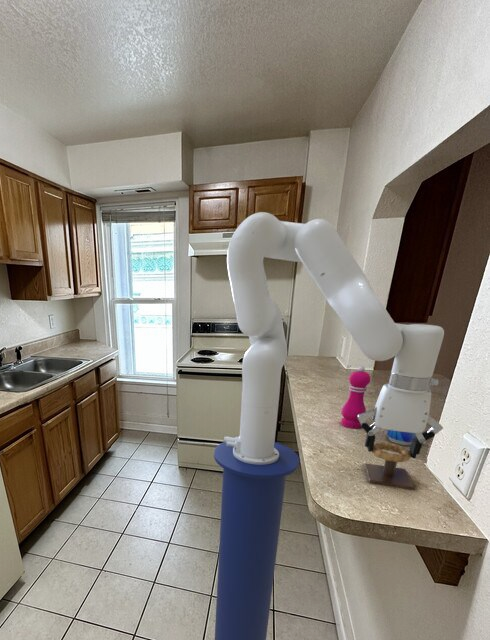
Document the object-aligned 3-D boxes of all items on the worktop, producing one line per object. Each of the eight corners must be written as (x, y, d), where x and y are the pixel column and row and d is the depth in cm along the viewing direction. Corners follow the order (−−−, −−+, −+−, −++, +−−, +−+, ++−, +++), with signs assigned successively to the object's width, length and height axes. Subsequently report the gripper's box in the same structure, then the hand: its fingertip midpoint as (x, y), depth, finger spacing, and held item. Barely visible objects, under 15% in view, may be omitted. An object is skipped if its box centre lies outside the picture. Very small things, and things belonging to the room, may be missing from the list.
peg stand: (369, 482, 84) (373, 462, 82) (364, 465, 92) (368, 447, 90) (413, 489, 81) (419, 469, 79) (404, 471, 89) (409, 452, 87)
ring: (372, 459, 82) (374, 452, 82) (367, 445, 89) (369, 439, 89) (413, 466, 80) (415, 459, 79) (405, 451, 87) (407, 444, 86)
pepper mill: (335, 425, 119) (345, 366, 112) (344, 419, 123) (354, 363, 116) (358, 430, 114) (370, 370, 107) (366, 425, 118) (378, 366, 111)
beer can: (401, 447, 101) (414, 394, 96) (379, 436, 109) (390, 386, 104) (426, 445, 103) (440, 392, 97) (402, 434, 111) (414, 384, 105)
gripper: (450, 382, 78) (428, 452, 85) (362, 374, 84) (348, 440, 90) (463, 391, 72) (438, 466, 78) (367, 382, 78) (351, 452, 84)
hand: (390, 452), depth 84 cm, fingers closed on ring, 8 cm apart
